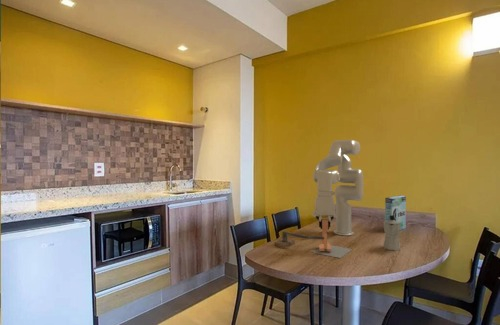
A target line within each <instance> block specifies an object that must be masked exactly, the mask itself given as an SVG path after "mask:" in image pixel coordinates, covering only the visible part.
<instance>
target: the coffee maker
mask: <svg viewBox="0 0 500 325" xmlns="http://www.w3.org/2000/svg"><path fill="white" fill-rule="evenodd" d="M382 223H383V231H384V234H385V236H384V241H383V242H384V243H383V249H384V248H385V249H384V250H388V251H392V250H394V251H393V252H397V251H396V250H399V251H401V245H400V239H399V235H400V232H401V230H400V226H401V223H400V222H398V221H395V220H394V216H393V215H390V220H386V221H385V220H383V221H382Z"/></svg>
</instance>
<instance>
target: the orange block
mask: <svg viewBox="0 0 500 325" xmlns="http://www.w3.org/2000/svg"><path fill="white" fill-rule="evenodd" d="M321 220H322V229H321V237H324V239H321V242H317V246H318V248H319V250H320V251H332V249H331V246H330V245H331V244H330V243H329V242H328V230H329V229H328V217H327V218H325V217H322V218H321Z"/></svg>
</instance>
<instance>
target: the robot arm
mask: <svg viewBox="0 0 500 325" xmlns="http://www.w3.org/2000/svg"><path fill="white" fill-rule="evenodd" d="M360 152H361V143H360V142H359V141H357V140H354V139H337V140H334V141H333V142H332V143H331V145H330V148H329V151H328V154H327V156H326V157H324V158H322V159H321V160H320V161H319V162H318V163H317V164H316V165H315V168H314V171H313V175H312V176H313V177H312V178H313V181H314V182H315V183H317V195H316V196H315V201H314V209H313V210H314V211H313V213H312V214H311V216H312V217H314V218H315V219H317V220H318V228H320V230H322V220H321V218H323V217H325V216H327V219H328V230H330V228H331V222H332V221H333V220H334V219H335V229H333V234H335V235H339V236H348V237H349V236H353V235H354V234H355V232H354V231H353V230H352V205H351V204H350V202H349V201H356V202H357V201H362V200H363V198H364V174H363V173H364V172H363V171H362V170H361V169H359V168H352V160H351V158H350V157H349V156H357V155H359V154H360ZM336 166H337V170H335V169H330V168H334V167H336ZM338 183H341V184H339V185H336V186H335V187H334V191H333V184H334V185H335V184H338ZM348 184H349V185H348ZM350 184H354V185H350ZM334 197H335V198H334ZM322 216H323V217H322Z"/></svg>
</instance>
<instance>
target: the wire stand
mask: <svg viewBox="0 0 500 325" xmlns="http://www.w3.org/2000/svg"><path fill="white" fill-rule="evenodd" d="M288 236H291V237H296V238H301V239H306V240H322V239H324V237H322V235H321V236H319V235H317V236H316V235H304V234H297V233H293V232H288V231H285V230H284V231H282V238H281V239H279V240H277V241H275V242H274V247H278V248H282V249H287V248H289V247H291V246H293V245H296V244H295V243H296V242H295V240H294V239H288Z"/></svg>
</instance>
